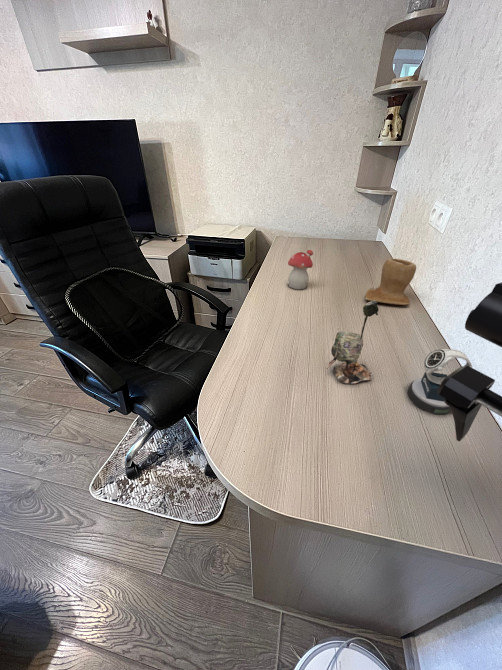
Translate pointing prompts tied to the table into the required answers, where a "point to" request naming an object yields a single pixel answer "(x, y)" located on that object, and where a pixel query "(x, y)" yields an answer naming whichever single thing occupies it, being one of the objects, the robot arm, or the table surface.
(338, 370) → the plant with pod
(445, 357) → the watch
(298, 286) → the decorative ornament
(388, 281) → the brown suede boot
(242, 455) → the table surface
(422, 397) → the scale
